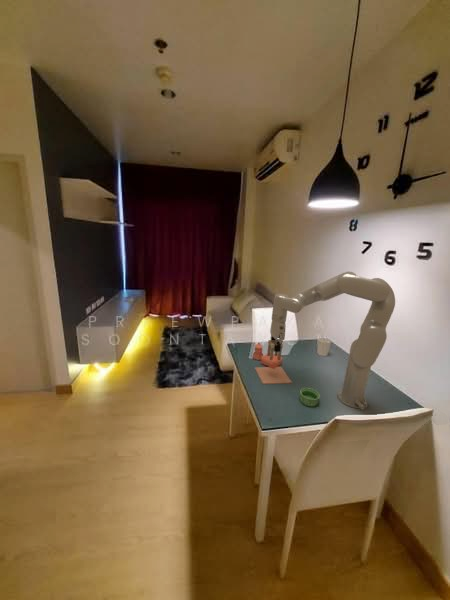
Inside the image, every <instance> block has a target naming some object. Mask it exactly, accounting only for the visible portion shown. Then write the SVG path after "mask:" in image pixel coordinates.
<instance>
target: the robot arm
mask: <svg viewBox="0 0 450 600" xmlns="http://www.w3.org/2000/svg"><path fill="white" fill-rule="evenodd" d="M343 294H346V295H349V296H353V297H355V298H359V299H363V300H366V301H370V302H371V304H370V307H369V309H368V313H367V314H366V316H365V318H364V320H363V322H362V324H361V326H360V330H359V335H358V337H357V338H356V339H355V340H354V341H352V343H351V345H350V348H349V355H348V361H347V366H346V370H345V375H344V381H343V384H342V385H343V386H342V390H340V391H338V393H337V398H338V400H339V401H340V402H341V403H343V404H344V405H346V406H348V407H351V408H353V409H361V410H365V409H366V408H367V407H368V406H369V404H368V403H367V402H368V401H367V400H366V397H365V394H366V391H367V390H366V389H367V385H368V381H369V377H370V372H371V368H372V367H373V365H374V364H375V363H376V361H377V359H378V358H379V355H380V353H381V352H382V351H383V348H384V346H385V344H386V341H387V337H388V335H387V326H388V324H389V322H390V319H391V318H392V316H393V313H394V309H395V307H396V297H395V292H394V290H393V288H392V287H391V285H390V284H389V283H388V282H387V281H386V280H385V279H382V278H380V277H374V278H366V277H363V276H359V275H357V274H356V273H355V272H352V271H345V272H342V273H339V274H338V275H336V276H333V277H331V278H330V279H327V280H325V281H323V282H320V283H318V284H316V285H314V286H312V287H310V288H308V289H306V290H304V291H301V292H299V293H297V294H295V295H294V296H293V297H289V296H290V295H288V294H286V293H276V294H275V295H274V299H273V305H272V313H271V324H270V330H269V331H270V332H269V333H270V340H276V344H275V347H274V353H275V352H280V348H281V344H283V343H284V340H285V338H286V322H287V316H288V312H290V313H293V314H297V313H300V312H301V311H302V309H304V308H305V307H307V306H309V305H311V304H314V303H317V302H324V301H325V302H326V301H329V300H331V299H333V298H335V297H337V296H341V295H343ZM277 340H279V342H277Z"/></svg>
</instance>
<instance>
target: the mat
mask: <svg viewBox="0 0 450 600" xmlns="http://www.w3.org/2000/svg"><path fill="white" fill-rule="evenodd" d="M254 369H255V371H256V374H257V375H258V378H259V380H260V382H261V384H262V385H277V384H278V385H279V384H280V385H282V384H292V383H293V381H292V380H291V379H290V377H289V376H288V375H287V373H286V372H285V370H284V368H283V367H282V366H277V367H275V368H274V369H273V368H271V367H268V366H264V367H263V366H261V367H260V366H259V367H257V366H256V367H254Z"/></svg>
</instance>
